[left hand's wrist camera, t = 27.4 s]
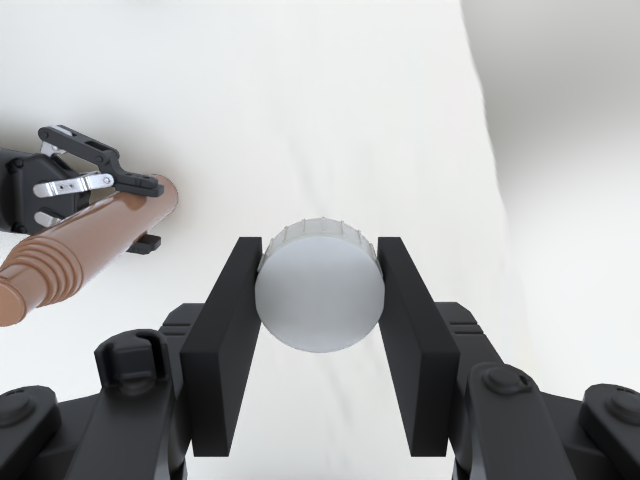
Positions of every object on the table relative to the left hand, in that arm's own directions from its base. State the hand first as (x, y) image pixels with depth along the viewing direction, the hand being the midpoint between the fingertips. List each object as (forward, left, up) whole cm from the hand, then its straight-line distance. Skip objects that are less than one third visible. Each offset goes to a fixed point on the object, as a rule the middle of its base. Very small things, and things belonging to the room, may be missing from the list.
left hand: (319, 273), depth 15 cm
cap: (0, 0, +2) cm, 2 cm away
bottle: (+9, +16, -31) cm, 36 cm away
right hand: (+7, +15, -24) cm, 29 cm away
